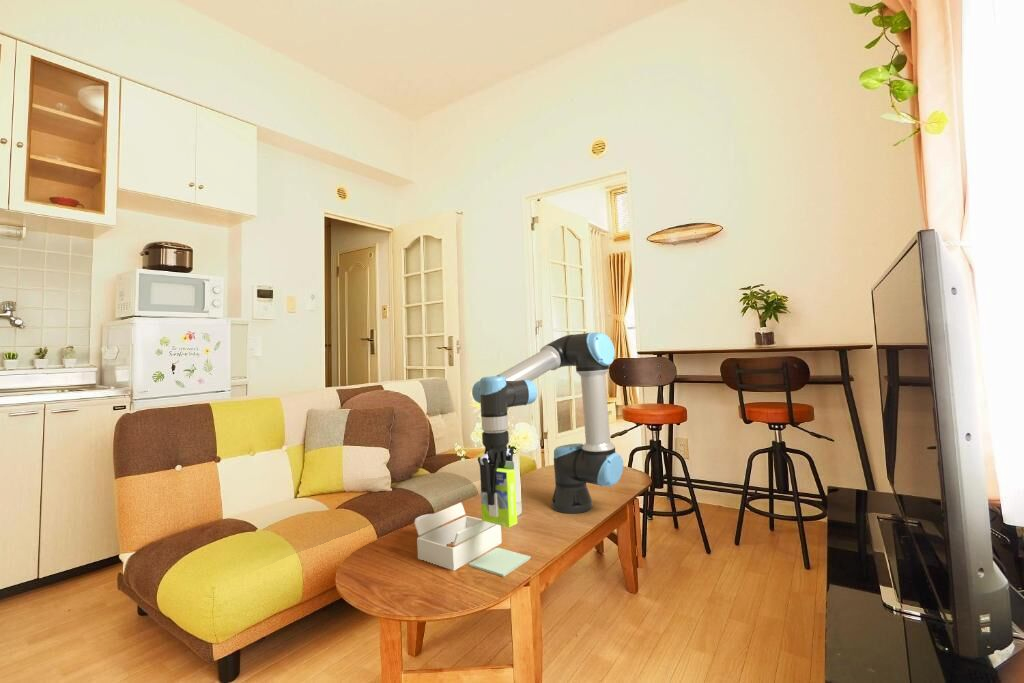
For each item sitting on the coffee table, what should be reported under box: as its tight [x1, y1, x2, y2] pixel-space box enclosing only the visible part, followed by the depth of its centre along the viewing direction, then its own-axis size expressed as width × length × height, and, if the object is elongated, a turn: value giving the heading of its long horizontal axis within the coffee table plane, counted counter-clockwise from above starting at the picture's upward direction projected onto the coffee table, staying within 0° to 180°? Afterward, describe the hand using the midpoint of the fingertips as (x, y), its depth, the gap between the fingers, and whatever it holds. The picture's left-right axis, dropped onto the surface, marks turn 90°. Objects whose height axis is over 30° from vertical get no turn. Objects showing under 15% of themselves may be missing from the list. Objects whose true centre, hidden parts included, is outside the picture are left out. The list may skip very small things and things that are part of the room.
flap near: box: [452, 521, 496, 547], centre depth 136 cm, size 20×1×4 cm, turn 143°
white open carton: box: [416, 515, 503, 572], centre depth 140 cm, size 21×15×6 cm
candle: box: [414, 513, 443, 537], centre depth 152 cm, size 9×9×6 cm
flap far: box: [413, 502, 466, 536], centre depth 145 cm, size 20×1×4 cm, turn 143°
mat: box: [468, 546, 532, 578], centre depth 131 cm, size 12×12×1 cm
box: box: [480, 461, 518, 529], centre depth 131 cm, size 11×4×17 cm, turn 50°
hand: (499, 513), depth 131 cm, fingers closed on box, 4 cm apart
